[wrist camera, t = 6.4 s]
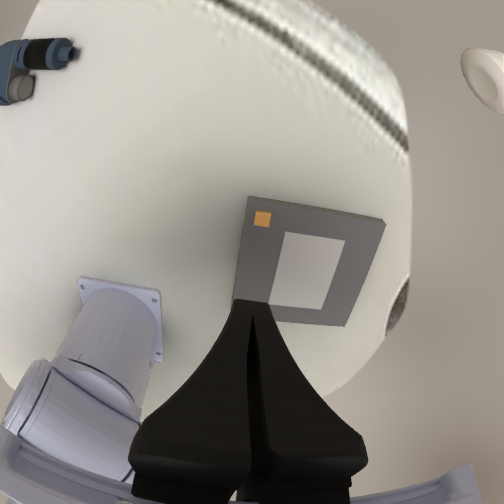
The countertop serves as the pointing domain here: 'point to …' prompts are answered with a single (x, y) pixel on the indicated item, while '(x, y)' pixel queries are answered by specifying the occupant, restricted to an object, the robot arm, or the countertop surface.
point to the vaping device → (29, 64)
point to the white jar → (485, 76)
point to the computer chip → (305, 260)
